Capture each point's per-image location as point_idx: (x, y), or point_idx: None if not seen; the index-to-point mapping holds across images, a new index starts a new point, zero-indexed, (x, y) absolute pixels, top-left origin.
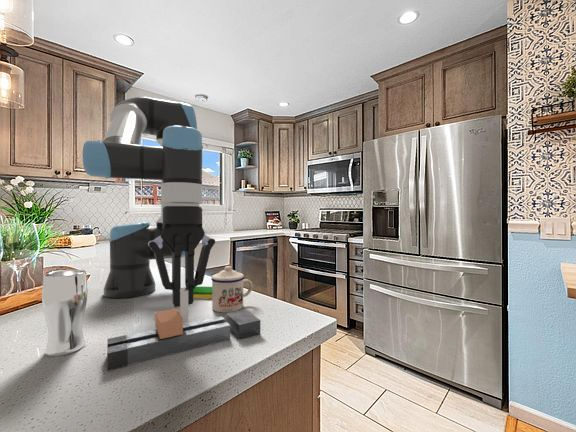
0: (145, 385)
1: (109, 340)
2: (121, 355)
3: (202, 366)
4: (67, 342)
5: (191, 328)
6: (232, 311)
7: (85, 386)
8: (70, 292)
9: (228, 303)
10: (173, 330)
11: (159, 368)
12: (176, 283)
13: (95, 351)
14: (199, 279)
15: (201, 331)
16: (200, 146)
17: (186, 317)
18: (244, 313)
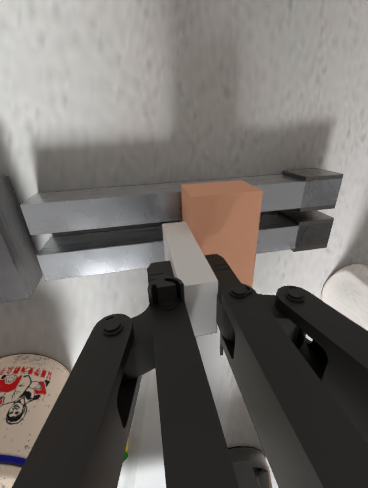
0: (271, 52)
1: (326, 236)
2: (309, 173)
3: (136, 66)
4: (364, 278)
5: (146, 240)
6: (15, 355)
7: (354, 125)
8: None
9: (17, 376)
10: (211, 185)
11: (232, 121)
12: (256, 309)
13: (314, 258)
14: (114, 341)
15: (122, 197)
16: None
17: (170, 229)
18: None
